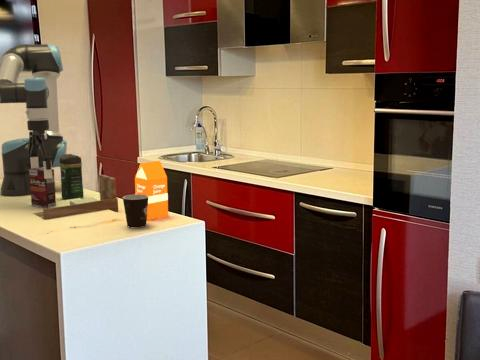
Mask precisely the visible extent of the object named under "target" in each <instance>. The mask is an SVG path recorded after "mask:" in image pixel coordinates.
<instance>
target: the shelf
mask: <svg viewBox="0 0 480 360" xmlns="http://www.w3.org/2000/svg"><path fill="white" fill-rule="evenodd" d="M116 180H117V179H116V178H115V177H113V176H108V175H106V174H99V175H98V182H99V200H100V201H94V202H87V203H81V204H74V205H70V204H69V205H63V206H62V205H61V206H57V207H56V206H54V207H51V208H42V211H39V212H33V213H32V214H33V215H35V216H37V217H38V218H40V219H42V220H46V221H47V220H52V219H58V218H65V217H70V216H75V215H82V214H88V213H95V212H101V211H106V210H108V211H111V212H115V213H119V199H118V198H117V183H116Z"/></svg>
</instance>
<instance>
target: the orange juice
mask: <svg viewBox="0 0 480 360" xmlns="http://www.w3.org/2000/svg"><path fill="white" fill-rule="evenodd" d="M134 189H135V190H134V191H135V193H134V194H143V195H148V196H149V197H148V209H147V219H148V220H147V221H151V220H150V219H153V220H155V219H154V218H157V219H160V218H159V217H162V218H165V216H166V217H169V194H168V176H167V173H166V171H165V169H164V166H163V165H162V162H161V160H155V161H154V160H153V161H146V162H140V163H139V167H138V169H137V172H136V173H135V177H134Z"/></svg>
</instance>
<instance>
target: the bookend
mask: <svg viewBox="0 0 480 360" xmlns="http://www.w3.org/2000/svg"><path fill="white" fill-rule="evenodd" d="M94 201H100V199H97V198H94V197H89V198H82V199H81V198H79V199H74V200H73V199H72V200H69V205H74V204H81V203H87V202H94Z"/></svg>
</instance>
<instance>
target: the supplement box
mask: <svg viewBox="0 0 480 360" xmlns="http://www.w3.org/2000/svg"><path fill="white" fill-rule="evenodd" d="M29 176H30V189H31V194H30V200H31V207H33V208H42V209H48V208H55V207H56V206H57V200H56V199H57V197H56V184H55V183H56V182H55V169H54V168H52V178H47V179H45V178H44V168H38V167H37V168H33V169H29Z"/></svg>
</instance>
